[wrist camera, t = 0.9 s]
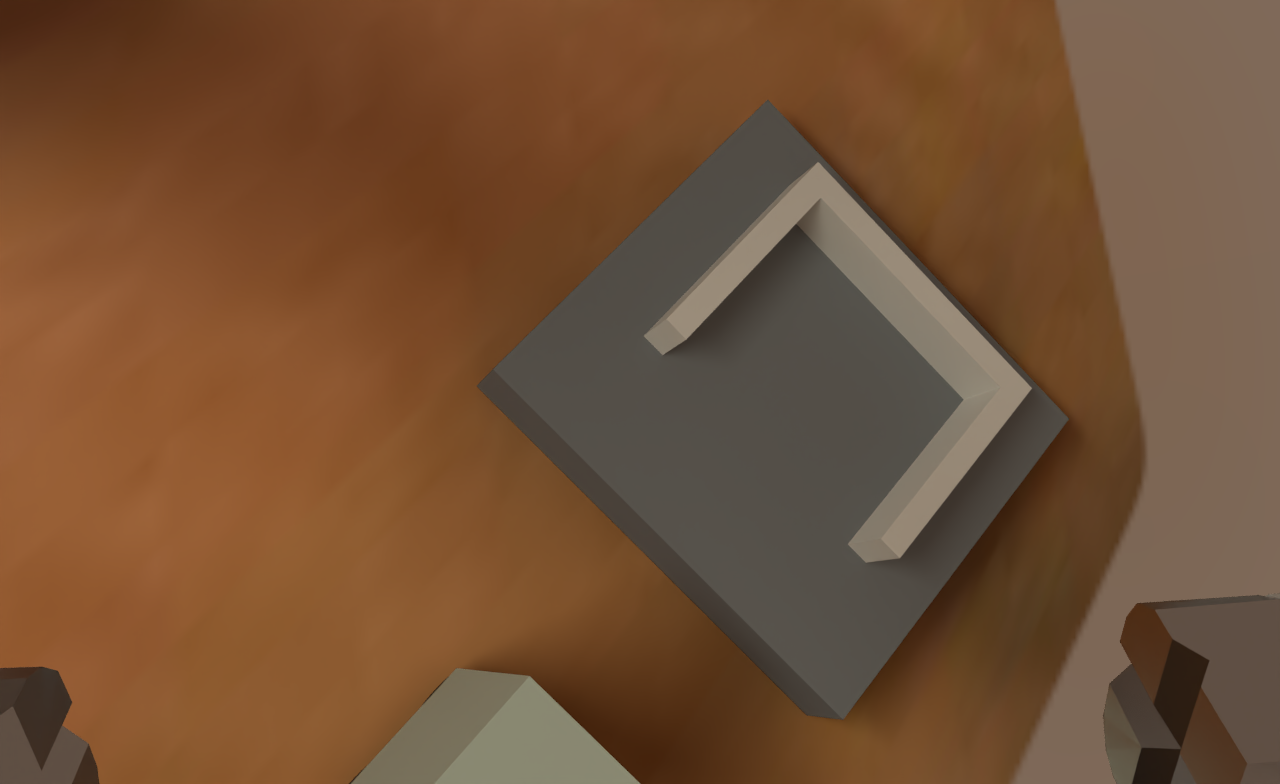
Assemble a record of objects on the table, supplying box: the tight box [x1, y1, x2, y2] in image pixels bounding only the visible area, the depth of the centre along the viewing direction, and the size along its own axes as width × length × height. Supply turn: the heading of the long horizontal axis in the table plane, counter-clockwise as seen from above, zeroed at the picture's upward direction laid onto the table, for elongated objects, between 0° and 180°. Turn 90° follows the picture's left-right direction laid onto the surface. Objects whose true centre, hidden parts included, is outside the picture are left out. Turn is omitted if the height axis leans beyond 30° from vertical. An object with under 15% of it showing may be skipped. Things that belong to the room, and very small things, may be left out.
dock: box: [477, 100, 1069, 720], centre depth 47 cm, size 18×16×6 cm
